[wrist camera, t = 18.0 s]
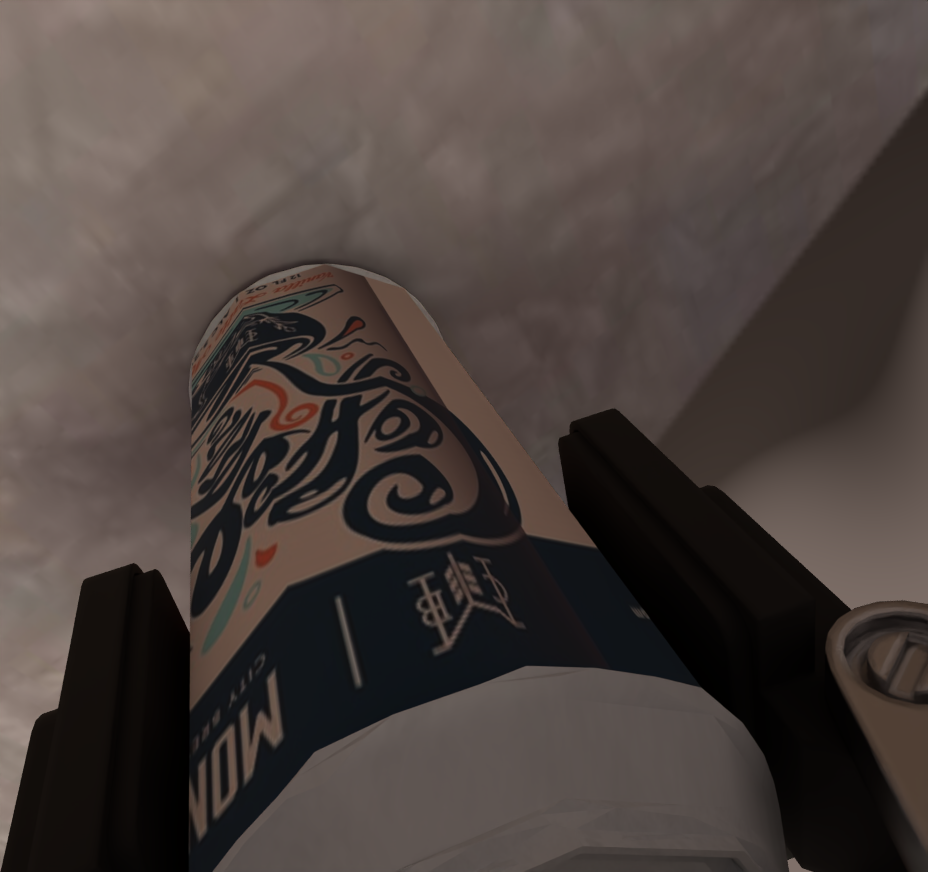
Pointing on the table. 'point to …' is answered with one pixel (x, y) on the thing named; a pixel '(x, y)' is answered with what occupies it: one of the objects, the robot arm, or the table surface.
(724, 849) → the beer can
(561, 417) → the table surface
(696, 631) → the robot arm
